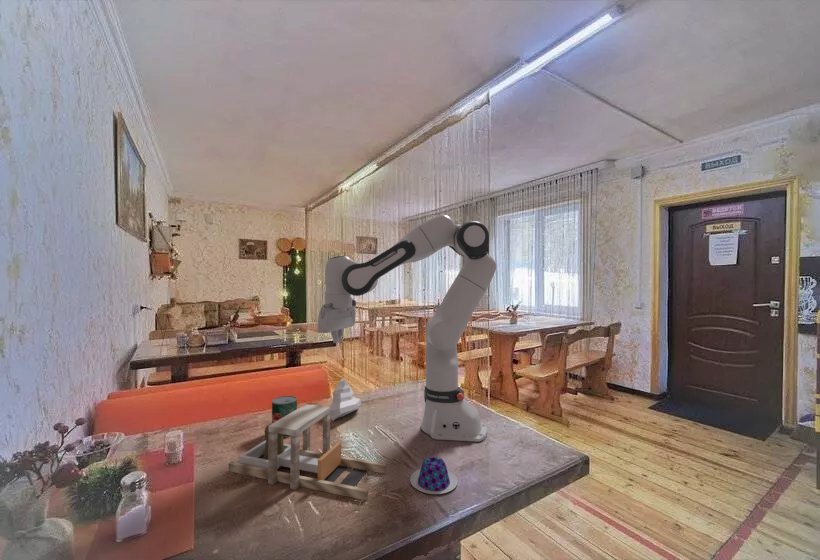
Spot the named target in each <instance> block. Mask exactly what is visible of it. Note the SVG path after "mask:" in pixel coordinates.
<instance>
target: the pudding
mask: <svg viewBox="0 0 820 560" xmlns="http://www.w3.org/2000/svg"><path fill="white" fill-rule="evenodd" d="M409 481H410V484H411V485H412V487H413V488H414V489H416V490H418V491H419V492H422V493H425V494H428V495H429V494H430V495H441V494H446V493H449V492H451V491H453V490H455V488H456V487H457V485H458V482H459V481H458V478H457V476H456V475H455V473H454V472H452V471H450V470H449V469H448V467H447V464H446V462H445V461H444V460H443V459H442V458H439V457H437V456H433V457H431V456H430V457H427V458H424V459H423V461H422V463H421V466H420V468H419V469H417V470H415V471H414V472H413V473H412V474H411V475H410V478H409Z"/></svg>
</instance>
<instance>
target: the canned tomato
mask: <svg viewBox="0 0 820 560" xmlns="http://www.w3.org/2000/svg"><path fill="white" fill-rule="evenodd" d="M297 409H298V398H297V396H294V395H282V396H278V397H274V398H273V399H272V400H271V423H274V422H276V421H278V420H279V419H281V418H283V417H285V416H286V415H288V414H290V413H291V412H293V411H295V410H297ZM287 437H291V435H285V434H283V439H284V438H287Z"/></svg>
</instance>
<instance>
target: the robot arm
mask: <svg viewBox="0 0 820 560" xmlns="http://www.w3.org/2000/svg"><path fill="white" fill-rule="evenodd" d="M446 247H449V248H451V249H452V250H453V251H454V252H455V253H456V254H457V255H459V256H462V257H463V258H464V262H463V265H462V267H461V269H460V271H459V272H458V274H457V276H456V277H455V279H454V280H453V282H452V283H451V286H450V287H449V289H448V290H447V292H446V293H445V295H444V297H443V299H442V301H441V303H440V305H439V307H438V308H437V310H436V312H435V314H433V315H432V316H431V317H430V318H429V319H428V320H427V322H426V325H425V361H426V362H425V386H424V392H423V396H424V398H423V399H424V403H425V404H424V412H423V417H422V421H421V425H420V429H421V430H422V431H423V433H426V434H427V435H429V436H430V437H431V438H432V439H434V440H438V441H439V440H441V441H458V442H459V441H461V442H477V443H478V442H481V441H483V440H485V439H486V438H487V435H488V426H487V425H486V423H484V422H482V421H481V417H480V416H481V415H480V412H479V411H478V409H477V408H476V407H475V406H473V405H472V404H471V403H470V402H468V401H467V400H466V399H465V389H464V388H461V387H459V360H458V358H459V357H458V343H459V341H460V339H461V337H462V335H463V334H464V331H466V328H467V326H468V324H469V321H470V320H471V317H472V315H473V313H474V311H475V309H476V307H478V305H479V303H480V301H481V300H482V298H483V296H484V294H485V293H486V292H487V290H488V288H489V286H490V285H491V283H492V280H493V278H494V275H495V273H496V270H497V262H496V261H495V260H494V258H493V257H492V256H490V255H489V253H490V233H489V230H488V228H487V227H486V226H485V225H484V224H483V223H482V222H480V221H475V220H473V221H471V220H470V221H467V222H465V223H463V224H462V225H459V224H456V222H454V220H453V219H452V218H451V217H450V216H449V215H446V214H438V215H436V216H434V217H431V218H429V219H427V220H425V221H424V222H422V223H420V224H419V225H417V226H416V227H415V226H414V228H412V229H411V230H409V232H407V233H406V234H405V235H404V236H403V237H401V239H399V241H397V242H396V243H395V244H393V245H392V246H391V247H390V248H388V249H387V250H385V251H383V252H382V253H380V254H378V255H377V256H374V258H372V259H370V260H368V261H366V262H365V261H364V262H363V263H362V262H360V263H359V262H357V261H355V260H353V259H352V258H350V257H349V256H347V255H339V256H338V255H337V256H333V257H331V258H329V259H328V260H327V261H326V264H325V270H324V285H325V290H324V304H323V305H322V306H321V308H320V310H319V313H318V317H317V331H318V333H319V334H329V333H330V335H331V337H332V342H333V344H338V343H341V342H343V341H342V338H343V334H344V329H347V328H352V327H354V326H355V323H356V313H357V312H356V307H357V301H356V300H355V299H354V298H352V297H351V296H355V297H358V296H364V295H365V294H367V293H370V292H372V291H374V289H375V288H376V287H377V285H378V280H379V279H380V278H381V277H383V276H384V275H386V274H387V273H389V272H391V271H393V270H394V269H396V268H397V267H399V266H401V265H404V264H408V263H415V262H418V261H422V260H424V259H427V258H428V257H430V256H433V255H434V254H435V253H437V252H439V251H440V250H442V249H443V248H446Z"/></svg>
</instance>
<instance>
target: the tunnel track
mask: <svg viewBox="0 0 820 560" xmlns="http://www.w3.org/2000/svg"><path fill="white" fill-rule="evenodd" d="M320 420H322V452H320V451H314V450H311V427H312V426H313V425H314V424H316V423H318V421H320ZM271 423H272V422H271ZM271 423H270V424H271ZM268 425H269V424H268ZM268 425H267V426H268ZM277 433H279V434H285V435H291V436H290V445H291V464H290V472H289V473H288V472H283V471H279V470H278V469H277ZM301 433H302V448H301V446H300V440H301V439H300V436H301V435H300V434H301ZM329 449H331V418H330V407H329V406H323V405H316V404H307V403H305V404H304V405H302V406H301V407H299V408H298V407H297V410H295V411H293V412H291V413H290V414H288V415H286V416H285V417H283V418H281V419H279V420H278V421H276V422H274V423H272V424H271V425H269V426H268V469H265V468H260V467H255V466H250V465H245V464H240V463H239V462H235V461H230V462H228V463H227V464H228V469H227V470H228V472H230V473H236V474H241V475H245V476H250V477H254V478H260V479H262V480H263V479H265V480H267V484H268V485H270V484H271V486H274V485H275V484H277V483H282V482H283V483H282V484H288V485H290V486H289V487H290V488H289V489H291V490H295V491H296V490H297V489H298V488H305V489H310V490H315V491H319V492H325V493H329V494H334V495H339V496H343V497H348V498H352V499H357V500H362V501H367V500H369V489H367V488H363V487H358V486H357V485H358V483H359V482H360V481H361V480H362V478H364V476H365V475H366V473H367V472H368V471H369V472H375V473H381V474H387V471H388V469H387V468H388V464H387V463H382V462H376V461H372V460H371V461H370V460H365V459H359V458H354V457H349V456H342V455H341V463H340V464H339V465H338V466H337V467H336V468H335V469H334V470H333V471H332V472H331V473H330V474H329V475H328V476H327V477H326V478H325V480H319V479H318V478H314V477H308V476H303V475H300V470H299V463H300V455H301V456H306V457H312V458H317V459H319V458H320V457H322V456H323V455H324V454H325V453H326V452H327V451H328V450H329ZM347 468H352V469H351V470H350V471H349V473H348V474H347V475H346V476H345V477H344V478H343V479H342V481H341V482H335V481H336V480H337V479H338V478H339V477H340V476H341V474H342V473H344V471H345V470H346V469H347ZM277 481H278V482H277Z"/></svg>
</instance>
